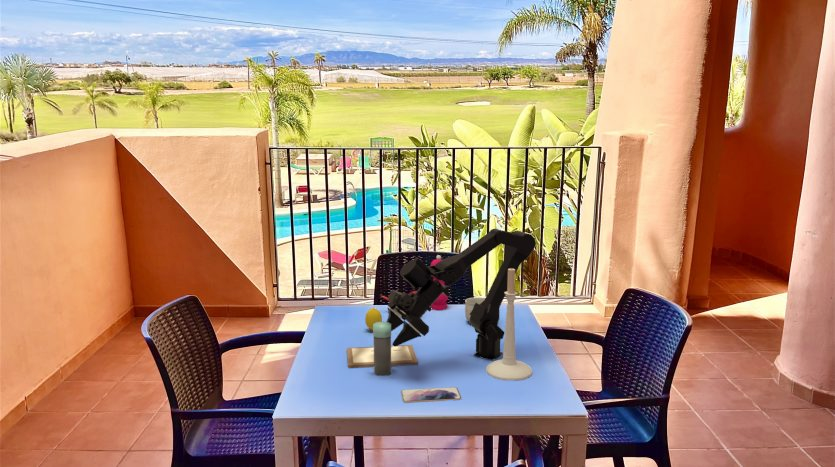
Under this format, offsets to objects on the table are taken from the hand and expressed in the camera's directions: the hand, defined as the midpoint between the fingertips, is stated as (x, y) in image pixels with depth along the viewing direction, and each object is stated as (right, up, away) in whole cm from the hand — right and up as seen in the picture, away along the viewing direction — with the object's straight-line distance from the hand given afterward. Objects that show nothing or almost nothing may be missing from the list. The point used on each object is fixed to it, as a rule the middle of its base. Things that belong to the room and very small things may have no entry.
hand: (387, 340), depth 185 cm
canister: (-1, -9, +1) cm, 9 cm away
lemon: (-6, -3, +36) cm, 36 cm away
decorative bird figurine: (+2, 0, +52) cm, 52 cm away
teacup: (+31, -2, +43) cm, 52 cm away
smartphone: (+12, -13, -14) cm, 22 cm away
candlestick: (+34, -9, +2) cm, 35 cm away
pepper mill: (+16, +2, +61) cm, 63 cm away
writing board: (-2, -7, +12) cm, 14 cm away
